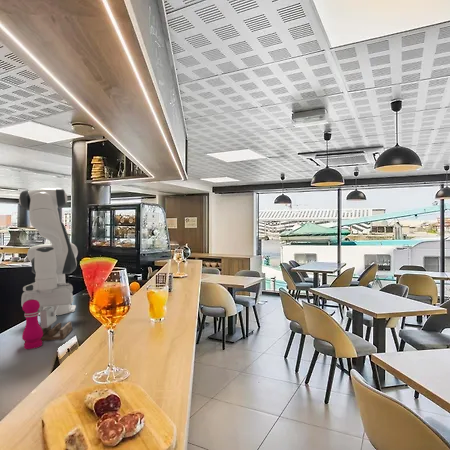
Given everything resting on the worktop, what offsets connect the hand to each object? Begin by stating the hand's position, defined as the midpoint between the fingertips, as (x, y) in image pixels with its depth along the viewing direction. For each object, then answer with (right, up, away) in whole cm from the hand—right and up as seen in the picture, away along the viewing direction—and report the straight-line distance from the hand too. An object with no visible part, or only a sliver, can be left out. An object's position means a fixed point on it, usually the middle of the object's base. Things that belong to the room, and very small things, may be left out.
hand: (48, 316), depth 148 cm
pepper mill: (+1, -9, -13) cm, 16 cm away
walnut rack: (+1, -8, 0) cm, 8 cm away
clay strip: (0, -3, 0) cm, 3 cm away
